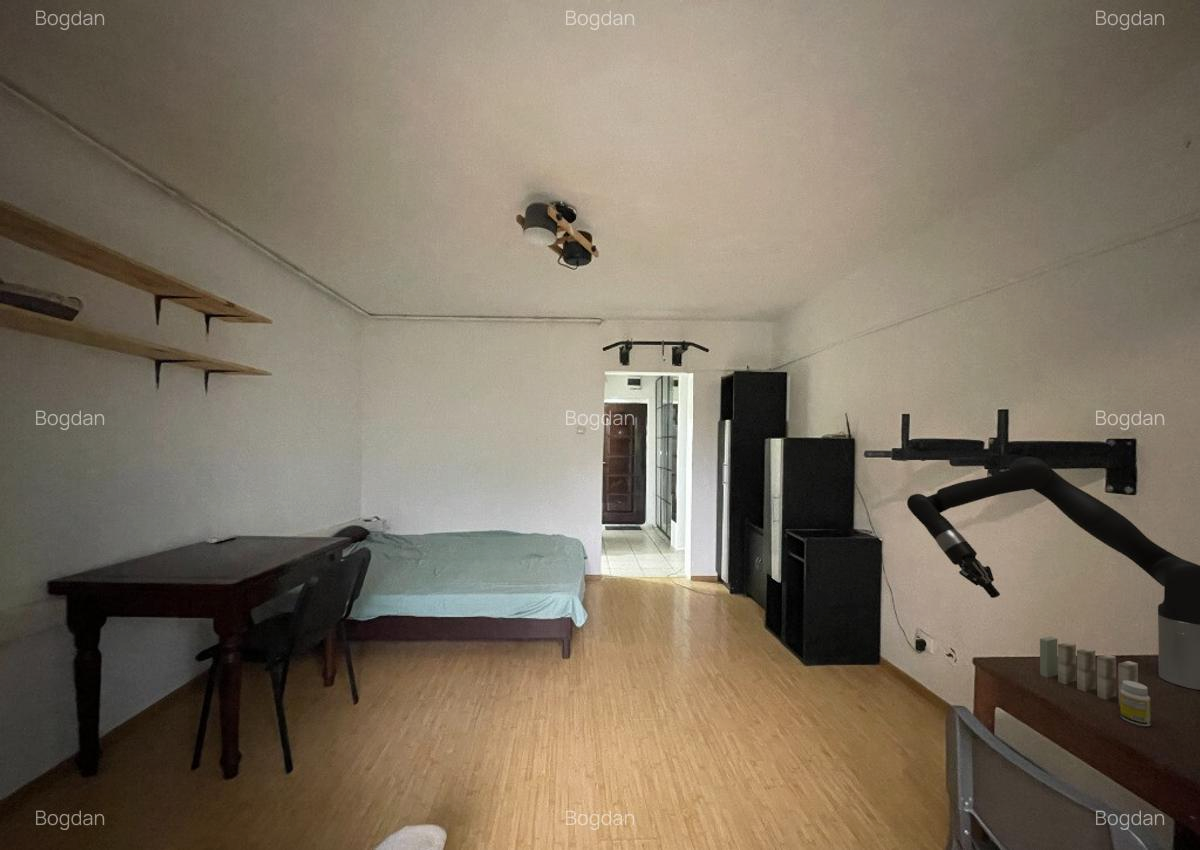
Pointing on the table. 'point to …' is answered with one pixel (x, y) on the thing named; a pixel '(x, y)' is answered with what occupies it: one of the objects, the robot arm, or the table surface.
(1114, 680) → the domino
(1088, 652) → the domino
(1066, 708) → the table surface
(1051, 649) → the domino
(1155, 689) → the table surface
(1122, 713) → the supplement bottle
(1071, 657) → the domino
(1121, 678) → the domino
